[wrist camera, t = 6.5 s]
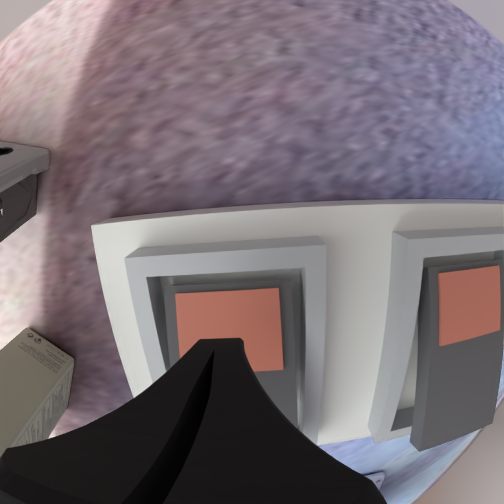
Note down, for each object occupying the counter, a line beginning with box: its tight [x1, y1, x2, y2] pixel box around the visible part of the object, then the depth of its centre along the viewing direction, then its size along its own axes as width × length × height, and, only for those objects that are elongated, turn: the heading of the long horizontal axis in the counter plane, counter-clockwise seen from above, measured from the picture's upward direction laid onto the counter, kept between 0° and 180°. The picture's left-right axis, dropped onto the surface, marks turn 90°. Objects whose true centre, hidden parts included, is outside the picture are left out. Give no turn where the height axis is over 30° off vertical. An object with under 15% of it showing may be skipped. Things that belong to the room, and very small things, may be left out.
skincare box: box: [0, 328, 74, 457], centre depth 11 cm, size 6×4×12 cm
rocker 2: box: [410, 259, 504, 452], centre depth 12 cm, size 9×5×1 cm, turn 4°
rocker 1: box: [164, 279, 298, 429], centre depth 12 cm, size 9×5×1 cm, turn 4°
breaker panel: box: [91, 199, 504, 445], centre depth 14 cm, size 14×23×4 cm, turn 94°
